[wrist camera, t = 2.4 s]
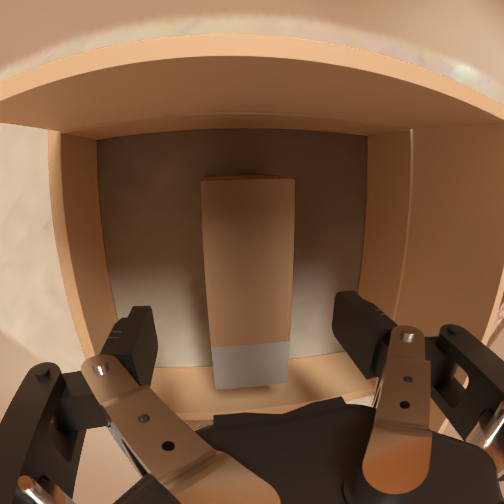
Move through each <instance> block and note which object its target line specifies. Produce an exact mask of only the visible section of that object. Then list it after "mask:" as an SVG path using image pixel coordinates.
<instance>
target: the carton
mask: <svg viewBox="0 0 504 504" xmlns="http://www.w3.org/2000/svg"><path fill="white" fill-rule="evenodd" d="M0 123H8V124H16V125H23V126H30V127H36V128H42V129H48V167H49V186H50V199H51V209H52V218H53V226H54V233H55V240H56V246H57V252H58V258H59V263H60V268H61V273H62V278H63V283H64V287H65V291H66V295H67V299H68V303H69V307H70V311H71V315H72V318H73V322H74V325H75V328H76V332H77V335H78V338H79V341H80V344H81V347H82V350H83V353H84V356H85V359H86V360H87V359H88V358H90V357H92V356H95V355H99V354H100V352H101V350H102V348H103V346H104V344H105V342H106V340H107V338H108V336H109V334H110V332H111V330H112V328H113V326H114V324H115V323H116V322H118V319H117V315H116V310H115V306H114V301H113V296H112V291H111V285H110V280H109V274H108V268H107V262H106V256H105V249H104V241H103V233H102V225H101V215H100V204H99V191H98V174H97V140H100V139H106V138H113V137H120V136H128V135H136V134H145V133H155V132H166V131H179V130H195V129H220V128H271V129H297V130H313V131H326V132H337V133H347V134H356V135H364V136H367V138H368V165H367V199H366V217H365V231H364V243H363V254H362V264H361V273H360V281H359V289H358V295H359V296H360V297H362V298H363V299H365V300H367V301H369V302H371V303H374V304H375V305H376V306H377V307H378V308H379V309H380V310H382V311H383V312H384V313H385V314H386V315H387V316H388V317H389V318H391V319H392V320H393V321H394V322H395V323H396V324H397V325H398V326H400V325H409V326H413V327H416V328H418V329H419V330H421V331H422V332H423V333H424V336H425V337H432V336H438V335H439V331H440V328H441V327H442V326H443V325H446V324H454V325H458V326H461V327H463V328H464V329H466V330H467V331H468V332H470V333H471V334H472V335H473V336H474V337H476V338H477V339H478V340H479V341H481V342H482V343H483V344H484V345H485V346H486V345H487V342H488V339H489V337H490V334H491V331H492V328H493V326H494V323H495V320H496V316H497V313H498V310H499V307H500V303H501V300H502V296H503V293H504V105H502V104H500V103H499V102H497V101H495V100H493V99H491V98H490V97H488V96H486V95H484V94H482V93H480V92H478V91H476V90H474V89H472V88H470V87H468V86H466V85H463V84H461V83H459V82H457V81H455V80H452V79H450V78H448V77H445V76H443V75H440V74H438V73H435V72H433V71H430V70H427V69H425V68H422V67H419V66H416V65H413V64H411V63H408V62H404V61H401V60H398V59H395V58H392V57H388V56H385V55H381V54H377V53H374V52H370V51H366V50H362V49H357V48H353V47H348V46H344V45H339V44H333V43H328V42H322V41H316V40H309V39H301V38H293V37H284V36H272V35H257V34H197V35H182V36H170V37H161V38H153V39H145V40H139V41H133V42H127V43H121V44H116V45H111V46H107V47H102V48H98V49H94V50H90V51H86V52H82V53H78V54H75V55H71V56H68V57H64V58H61V59H58V60H55V61H52V62H49V63H46V64H43V65H41V66H38V67H35V68H32V69H30V70H27V71H25V72H22V73H20V74H18V75H15V76H13V77H11V78H8V79H6V80H4V81H2V82H0ZM454 377H455V378H456V379H457V380H458V381H459V383H460V384H461V385H462V386H463V387H464V388H465V389H466V388H467V386H468V382H469V379H468V375H467V373H466V372H465V371H464V370H463V369H462V368H461V367H460V366H458V368H457V371H456V373H455V375H454ZM378 380H379V378H378V377H376V378H372V379H368V380H366V378H365V377H364V376H363V374H362V373H361V372H360V370H359V369H358V367H357V366H356V365H355V363H354V362H353V361H352V359H351V358H350V356H349V355H348V354H347V352H346V351H343V352H338V353H332V354H325V355H319V356H312V357H305V358H298V359H290V360H288V370H287V383H284V384H276V385H267V386H258V387H248V388H235V389H220V390H216V388H215V380H214V371H213V366H206V367H154V371H153V376H152V381H151V386H150V388H151V389H152V390H153V391H154V392H155V394H156V395H157V396H158V397H159V398H160V399H161V400H162V401H163V402H164V403H165V404H166V405H167V406H168V407H169V408H170V409H171V410H172V411H173V412H174V413H175V414H176V415H177V416H178V417H179V418H180V419H181V420H213V415H221V414H234V413H244V412H249V413H266V414H281V413H287V412H289V411H292V410H295V409H297V408H300V407H302V406H305V405H307V404H310V403H312V402H317V401H322V400H327V399H331V398H336V397H340V396H342V398H343V399H344V401H345V402H346V401H350V400H354V399H358V398H362V397H366V396H370V395H374V394H375V390H376V386H377V383H378ZM448 423H449V420H448V419H447V418H446V416H445V415H444V414H443V413H442V411H441V410H440V409H439V407H438V406H437V405H436V404H435V402H434V401H433V400H432V398H431V397H430V419H429V429H430V430H432V431H435V432H438V433H440V434H442V433H443V431H444V430H445V428H446V426H447V425H448Z"/></svg>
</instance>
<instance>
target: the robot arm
mask: <svg viewBox="0 0 504 504" xmlns="http://www.w3.org/2000/svg"><path fill="white" fill-rule="evenodd" d="M332 330H333V333H334V336H335V337H336V339H337V340H338V341H339V343H340V344H341V345H342V347H343V348H344V350H345V351H346V352H347V354H348V355H349V356H350V358H351V359H352V361H353V362H354V363H355V365H356V366H357V367H358V369H359V370H360V372H361V373H362V374H363V376H364V377H365V378H366V380H368V379H372V378H376V377H378V378H379V380H378V383H377V386H376V390H375V394H374V398H373V402H372V406H371V407H369V406H364V405H357V404H346V403H345V401H344V399H343V398H342V396H340V397H336V398H331V399H327V400H322V401H317V402H312V403H310V404H307V405H305V406H302V407H300V408H297V409H295V410H292V411H289V412H287V413H284V414H266V413H249V412H244V413H234V414H221V415H213V421H214V424H213V425H209V426H206V427H203V428H201V429H198V430H196V431H193V430H192V429H191V428H190V427H189V426H188V425H187V424H186V423H184V422H183V421H182V420H181V419H180V418H179V417H178V416H177V415H176V414H175V413H174V412H173V411H172V410H171V409H170V408H169V407H168V406H167V405H166V404H165V403H164V402H163V401H162V400H161V399H160V398H159V397H158V396H157V395H156V394H155V392H154V391H153V390H152V389H151V388H150V386H151V381H152V376H153V371H154V366H155V361H156V356H157V351H158V342H157V335H156V330H155V325H154V319H153V314H152V309H151V307H150V306H133V307H132V309H131V311H130V314H129V316H128V318H121V319H120V320H119V321H118V322H116V323H115V324H114V326H113V328H112V330H111V332H110V334H109V336H108V338H107V340H106V342H105V344H104V346H103V348H102V350H101V352H100V354H99V355H95V356H92V357H90V358H88V359H87V360H86V361H85V362H84V363H83V364H82V366H81V371H77V372H71V373H64V374H62V373H61V371H60V368H59V366H58V365H56V364H54V363H51V362H45V363H40V364H38V365H36V366H34V367H32V368H31V369H30V370H29V371H28V373H27V375H26V376H25V378H24V380H23V381H22V383H21V385H20V387H19V389H18V390H17V392H16V394H15V396H14V398H13V399H12V401H11V403H10V405H9V407H8V409H7V411H6V413H5V415H4V417H3V419H2V421H1V423H0V504H76V503H75V502H74V501H73V500H72V498H73V492H74V486H75V480H76V475H77V470H78V465H79V460H80V455H81V451H82V447H83V442H84V438H85V434H86V429H90V428H96V427H103V426H106V427H107V428H108V430H109V431H110V433H111V435H112V436H113V438H114V439H115V441H116V442H117V443H118V445H119V446H120V448H121V449H122V451H123V452H124V454H125V455H126V456H127V457H128V459H129V461H130V462H131V464H132V465H133V467H134V468H135V470H136V471H137V472H138V474H139V475H140V476H141V479H140V480H139V481H138V482H137V483H136V484H135V485H134V486H132V487H131V488H130V489H129V490H128V491H127V492H126V493H125V494H123V495H122V496H121V497H120V498H119V499H118V500H116V501H115V502H114V503H113V504H504V498H503V496H502V493H501V490H500V486H499V481H504V361H503V360H502V359H500V358H499V357H498V356H497V355H496V354H495V353H494V352H492V351H491V350H490V349H489V348H488V347H487V346H485V345H484V344H483V343H482V342H481V341H479V340H478V339H477V338H476V337H474V336H473V335H472V334H471V333H470V332H468V331H467V330H466V329H464V328H463V327H461V326H458V325H454V324H446V325H443V326H442V327H441V328H440V331H439V335H438V336H432V337H425V336H424V333H423V332H422V331H421V330H419V329H418V328H416V327H413V326H409V325H400V326H398V325H397V324H396V323H395V322H394V321H393V320H392V319H391V318H389V317H388V316H387V315H386V314H385V313H384V312H383V311H382V310H380V309H379V308H378V307H377V306H376V305H375V304H374V303H371V302H369V301H367V300H365V299H363V298H362V297H360V296H359V295H358V294H357V293H356V292H355V291H353V290H352V291H344V292H337V294H336V296H335V303H334V312H333V320H332ZM458 366H460V367H461V368H462V369H463V370H464V371H465V372H466V373H467V375H468V379H469V382H468V386H467V388H466V389H465V388H464V387H463V386H462V385H461V384H460V383H459V381H458V380H457V379H456V378H455V377H454V375H455V373H456V371H457V368H458ZM430 397H431V398H432V400H433V401H434V402H435V404H436V405H437V406H438V407H439V409H440V410H441V411H442V413H443V414H444V415H445V416H446V418H447V419H448V420H449V422H450V423H451V424H452V426H453V427H454V428H455V430H456V431H457V432H458V433H459V435H460V436H461V438H462V439H463V440H464V441H461V440H458V439H455V438H452V437H449V436H446V435H443V434H440V433H438V432H435V431H432V430H430V429H429V419H430Z"/></svg>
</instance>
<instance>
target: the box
mask: <svg viewBox="0 0 504 504" xmlns="http://www.w3.org/2000/svg"><path fill="white" fill-rule="evenodd" d="M200 189H201V215H202V235H203V253H204V269H205V283H206V297H207V309H208V321H209V332H210V342H211V352H212V362H213V371H214V380H215V388H216V390H220V389H235V388H248V387H258V386H267V385H276V384H284V383H287V370H288V356H289V340H290V324H291V305H292V283H293V256H294V217H295V179H289V178H283V177H277V176H270V175H245V176H212V177H204V178H203V179H202V180H201V181H200Z"/></svg>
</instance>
